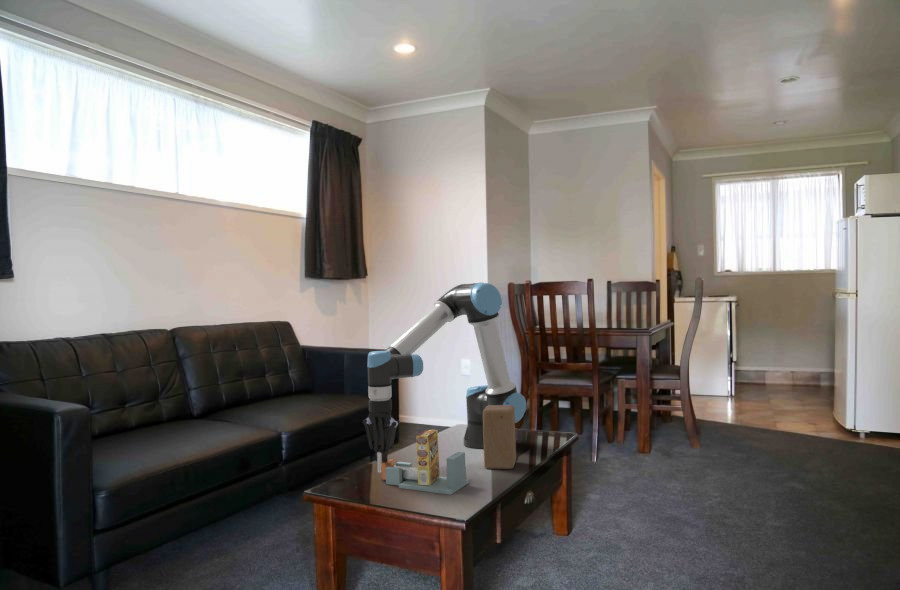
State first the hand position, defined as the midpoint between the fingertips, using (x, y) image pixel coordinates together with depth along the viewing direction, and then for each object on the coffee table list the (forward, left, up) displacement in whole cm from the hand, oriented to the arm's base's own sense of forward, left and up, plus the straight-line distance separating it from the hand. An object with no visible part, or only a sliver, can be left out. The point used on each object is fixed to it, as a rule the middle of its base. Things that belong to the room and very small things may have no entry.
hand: (381, 471), depth 195 cm
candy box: (0, +17, -2) cm, 17 cm away
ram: (0, +8, -2) cm, 9 cm away
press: (0, +16, -2) cm, 16 cm away
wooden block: (-28, +30, -3) cm, 41 cm away
